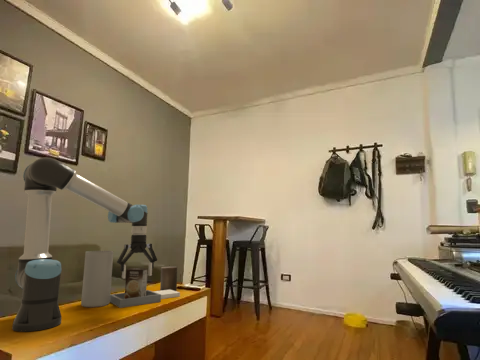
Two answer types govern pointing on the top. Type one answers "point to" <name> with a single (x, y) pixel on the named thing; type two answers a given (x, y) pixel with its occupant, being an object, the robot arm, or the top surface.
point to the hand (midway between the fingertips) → (137, 276)
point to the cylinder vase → (97, 278)
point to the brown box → (168, 278)
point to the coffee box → (135, 282)
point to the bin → (134, 299)
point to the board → (168, 293)
